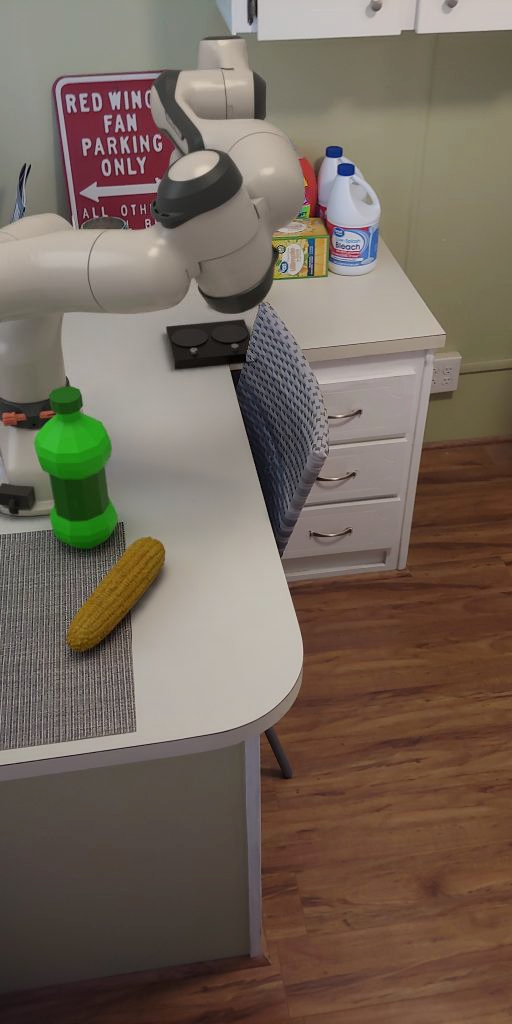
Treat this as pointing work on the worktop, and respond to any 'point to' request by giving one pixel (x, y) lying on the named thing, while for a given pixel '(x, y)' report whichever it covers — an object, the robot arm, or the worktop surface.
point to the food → (116, 593)
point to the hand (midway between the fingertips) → (226, 215)
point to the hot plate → (208, 343)
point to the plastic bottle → (76, 471)
